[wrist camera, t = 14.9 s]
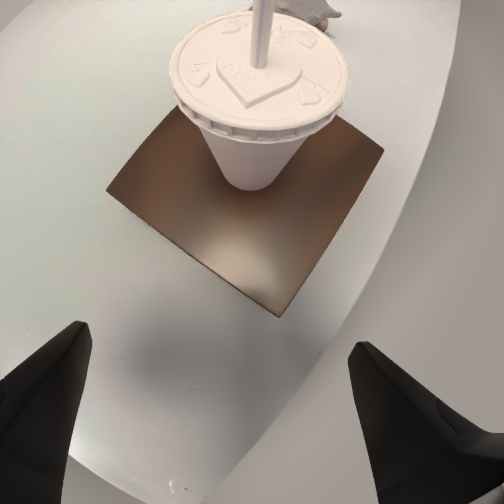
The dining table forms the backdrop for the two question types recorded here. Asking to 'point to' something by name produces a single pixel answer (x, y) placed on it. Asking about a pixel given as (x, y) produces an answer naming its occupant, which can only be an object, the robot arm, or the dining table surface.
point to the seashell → (307, 11)
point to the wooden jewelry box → (248, 204)
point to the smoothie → (257, 88)
